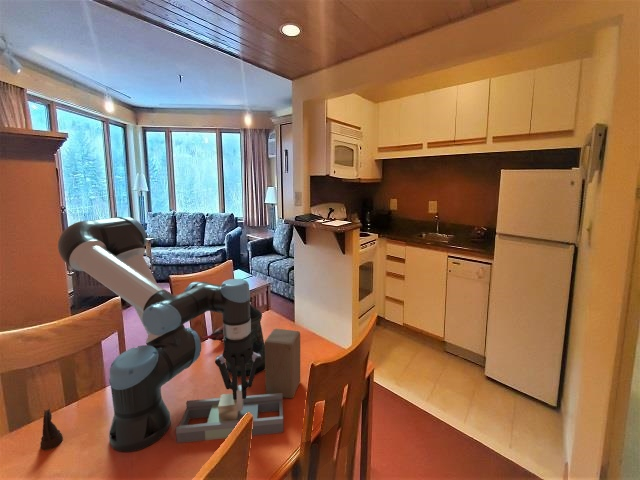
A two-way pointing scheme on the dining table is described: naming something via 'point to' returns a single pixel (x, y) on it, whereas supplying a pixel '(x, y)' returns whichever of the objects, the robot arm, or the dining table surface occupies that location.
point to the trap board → (224, 428)
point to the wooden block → (282, 362)
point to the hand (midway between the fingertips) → (240, 407)
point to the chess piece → (50, 433)
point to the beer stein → (253, 344)
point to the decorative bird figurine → (216, 335)
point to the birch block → (227, 408)
